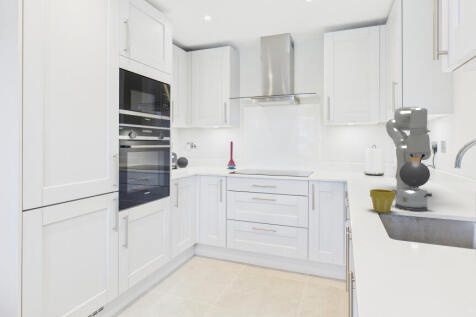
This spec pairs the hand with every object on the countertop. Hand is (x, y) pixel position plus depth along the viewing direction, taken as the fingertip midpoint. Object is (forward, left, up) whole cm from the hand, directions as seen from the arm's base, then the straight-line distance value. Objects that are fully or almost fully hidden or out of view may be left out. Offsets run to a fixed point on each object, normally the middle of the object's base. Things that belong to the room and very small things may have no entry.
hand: (417, 166), depth 142 cm
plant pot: (+31, -9, -20) cm, 38 cm away
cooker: (+15, 0, -20) cm, 25 cm away
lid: (+8, 0, -3) cm, 8 cm away
